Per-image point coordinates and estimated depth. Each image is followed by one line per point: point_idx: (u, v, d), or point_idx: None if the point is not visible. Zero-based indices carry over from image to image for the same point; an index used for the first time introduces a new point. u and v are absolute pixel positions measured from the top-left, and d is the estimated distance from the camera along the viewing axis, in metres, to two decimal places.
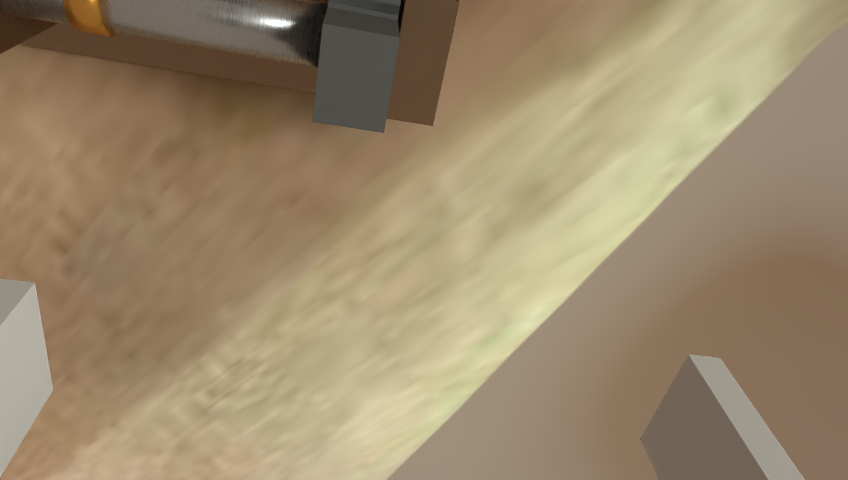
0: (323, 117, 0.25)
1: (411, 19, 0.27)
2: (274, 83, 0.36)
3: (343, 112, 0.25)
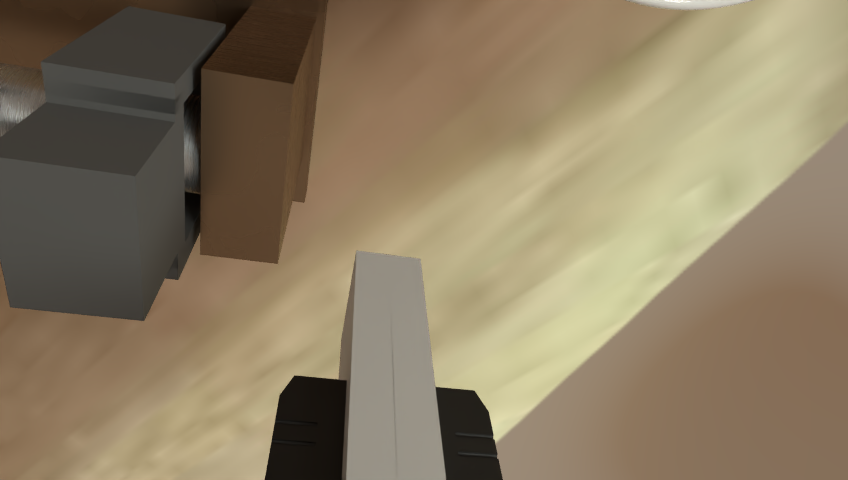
0: (28, 301, 0.14)
1: (216, 111, 0.16)
2: None
3: (62, 293, 0.14)
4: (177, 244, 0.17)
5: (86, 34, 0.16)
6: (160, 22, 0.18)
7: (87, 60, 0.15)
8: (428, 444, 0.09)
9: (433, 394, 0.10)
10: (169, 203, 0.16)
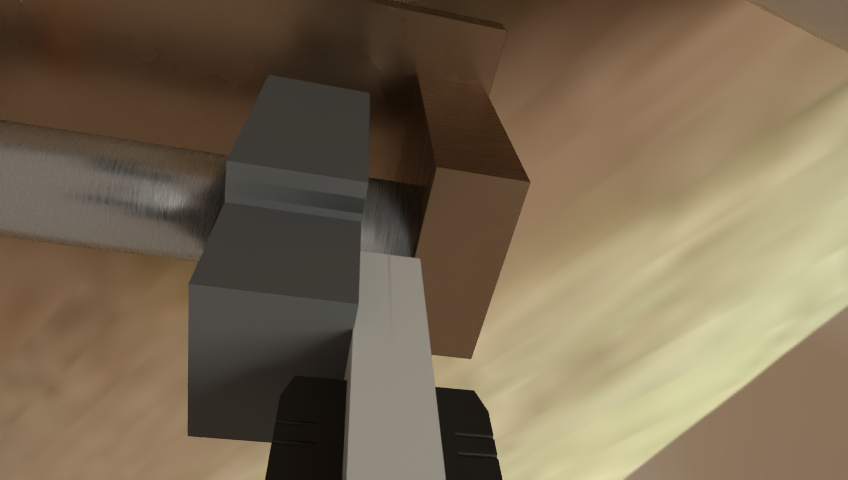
0: (209, 429, 0.13)
1: (442, 210, 0.15)
2: None
3: (248, 421, 0.12)
4: None
5: (249, 117, 0.15)
6: (309, 95, 0.17)
7: (269, 155, 0.13)
8: (428, 444, 0.09)
9: (433, 394, 0.10)
10: None
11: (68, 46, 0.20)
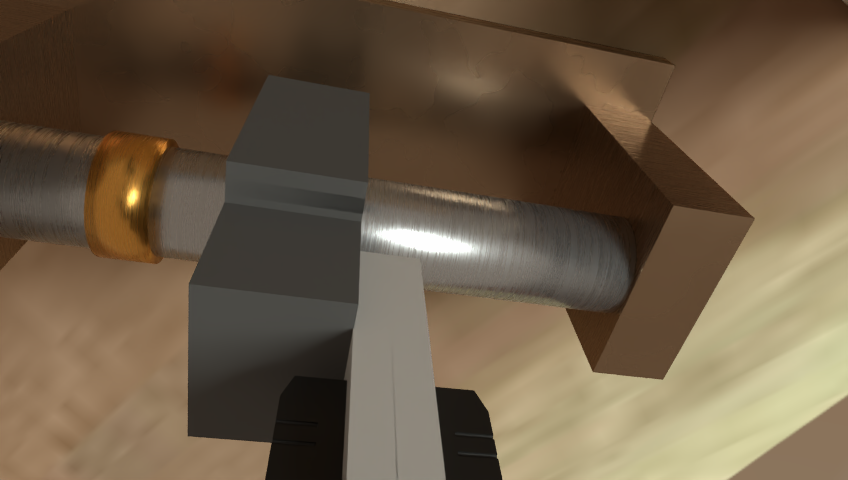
0: (209, 429, 0.13)
1: (669, 244, 0.16)
2: None
3: (248, 421, 0.12)
4: None
5: (249, 117, 0.15)
6: (309, 95, 0.17)
7: (269, 155, 0.13)
8: (428, 444, 0.09)
9: (433, 394, 0.10)
10: None
11: None
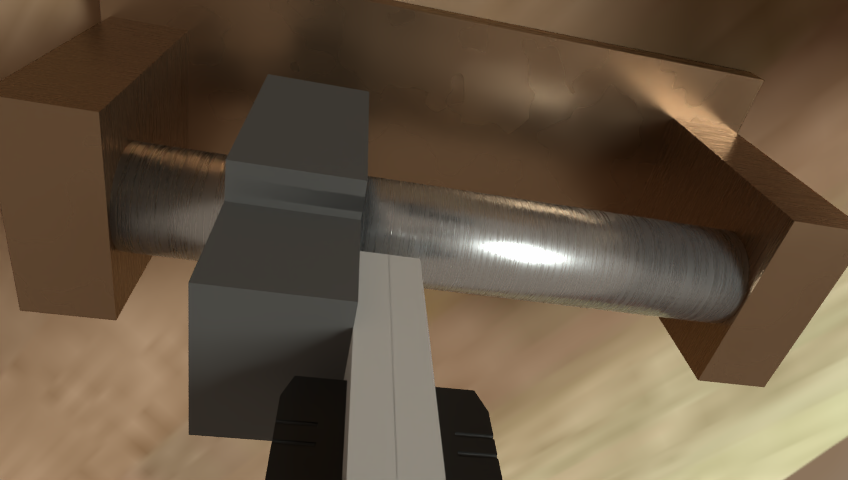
0: (210, 428, 0.13)
1: (786, 258, 0.17)
2: None
3: (249, 419, 0.12)
4: None
5: (249, 116, 0.15)
6: (309, 94, 0.17)
7: (269, 154, 0.13)
8: (428, 444, 0.09)
9: (433, 394, 0.10)
10: None
11: None
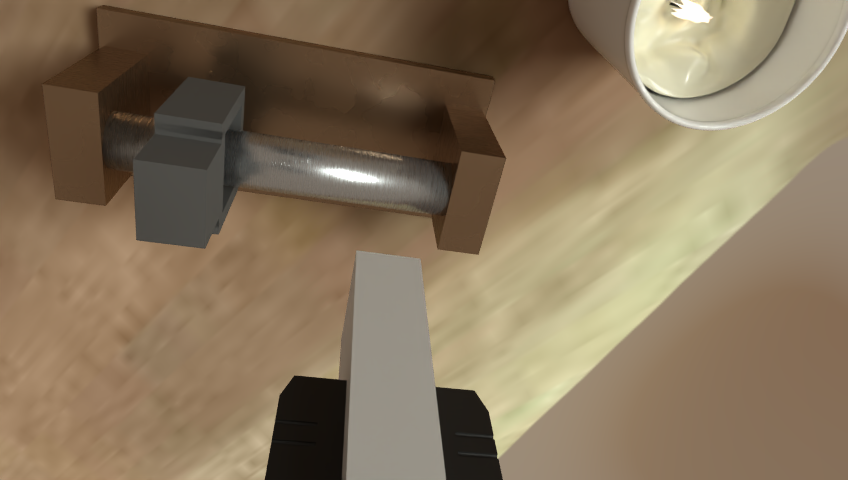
0: (146, 236, 0.27)
1: (464, 172, 0.32)
2: (329, 200, 0.40)
3: (164, 232, 0.27)
4: (219, 212, 0.30)
5: (171, 96, 0.29)
6: (208, 87, 0.32)
7: (176, 111, 0.28)
8: (428, 444, 0.09)
9: (433, 394, 0.10)
10: (217, 187, 0.29)
11: (257, 93, 0.36)
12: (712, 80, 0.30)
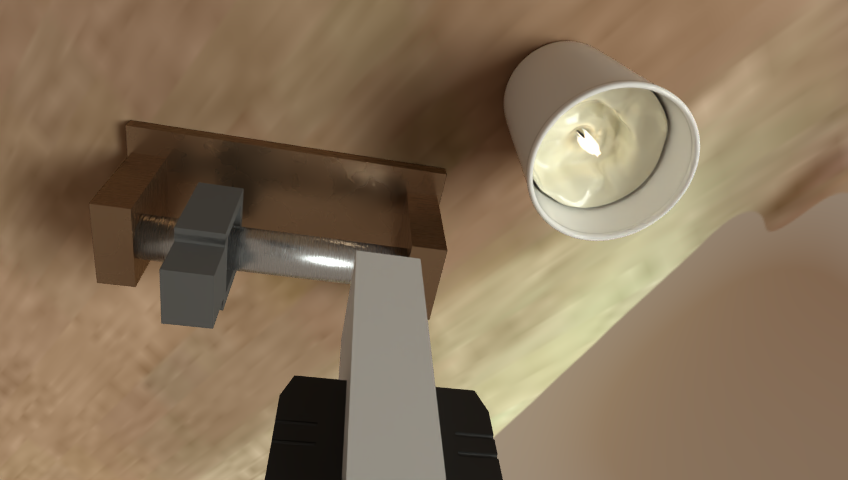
0: (168, 321, 0.36)
1: None
2: None
3: (182, 317, 0.36)
4: (223, 295, 0.39)
5: (186, 207, 0.38)
6: (214, 192, 0.40)
7: (190, 224, 0.37)
8: (428, 444, 0.09)
9: (433, 394, 0.10)
10: (221, 279, 0.38)
11: (253, 185, 0.45)
12: (606, 194, 0.39)
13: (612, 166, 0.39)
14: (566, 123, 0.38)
